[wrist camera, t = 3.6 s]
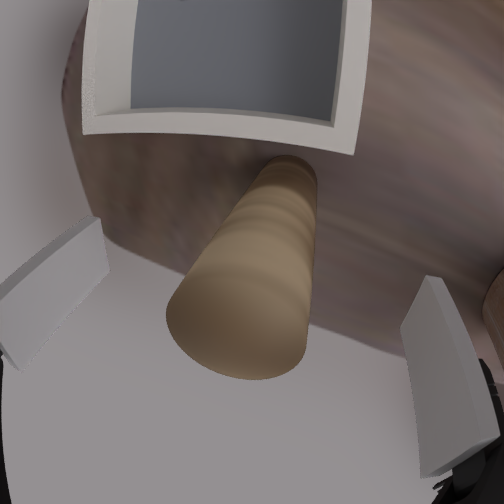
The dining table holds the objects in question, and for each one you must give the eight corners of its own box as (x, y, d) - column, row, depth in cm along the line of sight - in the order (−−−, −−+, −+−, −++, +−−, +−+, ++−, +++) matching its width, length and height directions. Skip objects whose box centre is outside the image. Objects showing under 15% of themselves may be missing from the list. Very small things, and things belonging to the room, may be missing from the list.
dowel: (262, 151, 19) (158, 264, 7) (321, 160, 18) (322, 297, 6) (257, 205, 21) (174, 361, 9) (312, 214, 20) (291, 389, 8)
